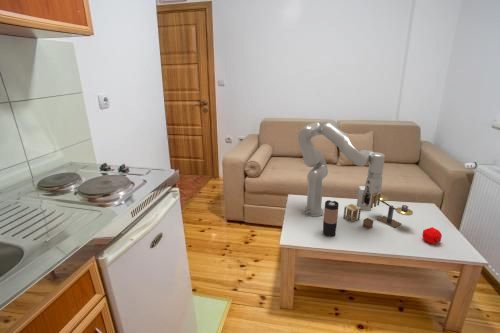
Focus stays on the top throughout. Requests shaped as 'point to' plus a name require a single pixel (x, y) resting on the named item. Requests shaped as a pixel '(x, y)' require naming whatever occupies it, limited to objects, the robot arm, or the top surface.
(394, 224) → the balance
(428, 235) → the ball
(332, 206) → the travel mug
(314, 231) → the top surface
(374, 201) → the cover right
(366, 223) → the block
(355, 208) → the wooden slatted crate
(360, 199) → the skincare box
